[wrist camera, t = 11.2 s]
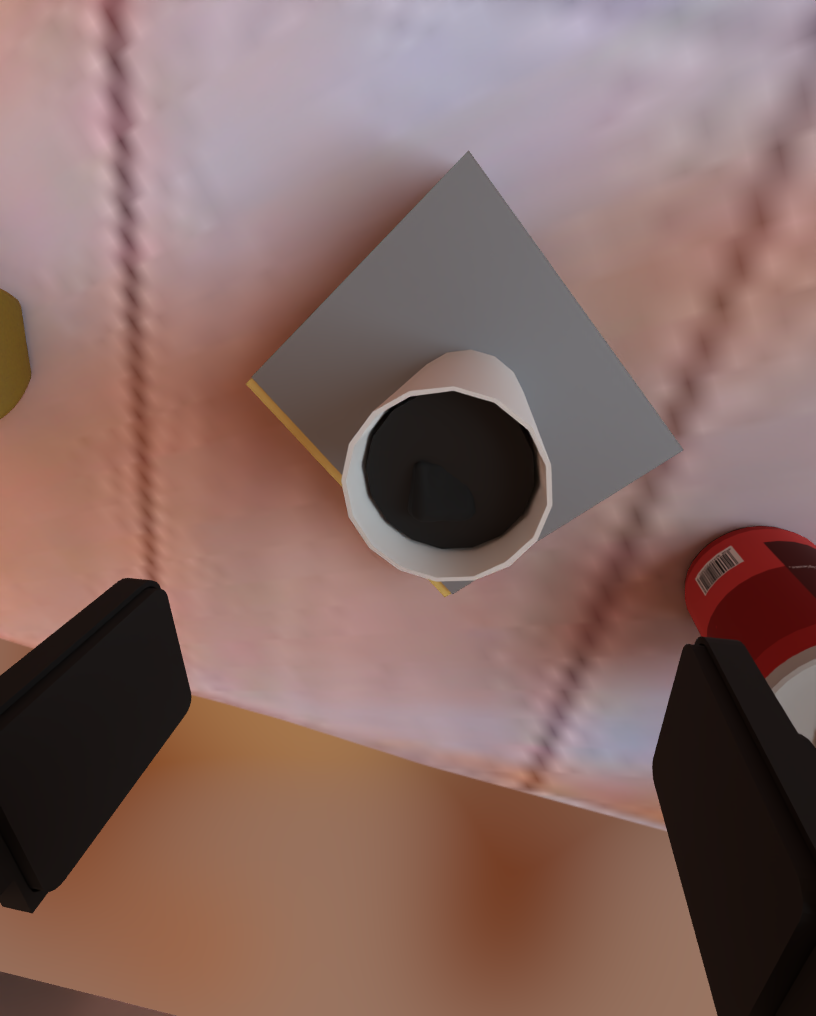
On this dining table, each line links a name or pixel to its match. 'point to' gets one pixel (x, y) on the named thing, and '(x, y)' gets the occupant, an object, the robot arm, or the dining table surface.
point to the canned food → (763, 609)
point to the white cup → (450, 471)
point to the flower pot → (12, 354)
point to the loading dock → (467, 346)
